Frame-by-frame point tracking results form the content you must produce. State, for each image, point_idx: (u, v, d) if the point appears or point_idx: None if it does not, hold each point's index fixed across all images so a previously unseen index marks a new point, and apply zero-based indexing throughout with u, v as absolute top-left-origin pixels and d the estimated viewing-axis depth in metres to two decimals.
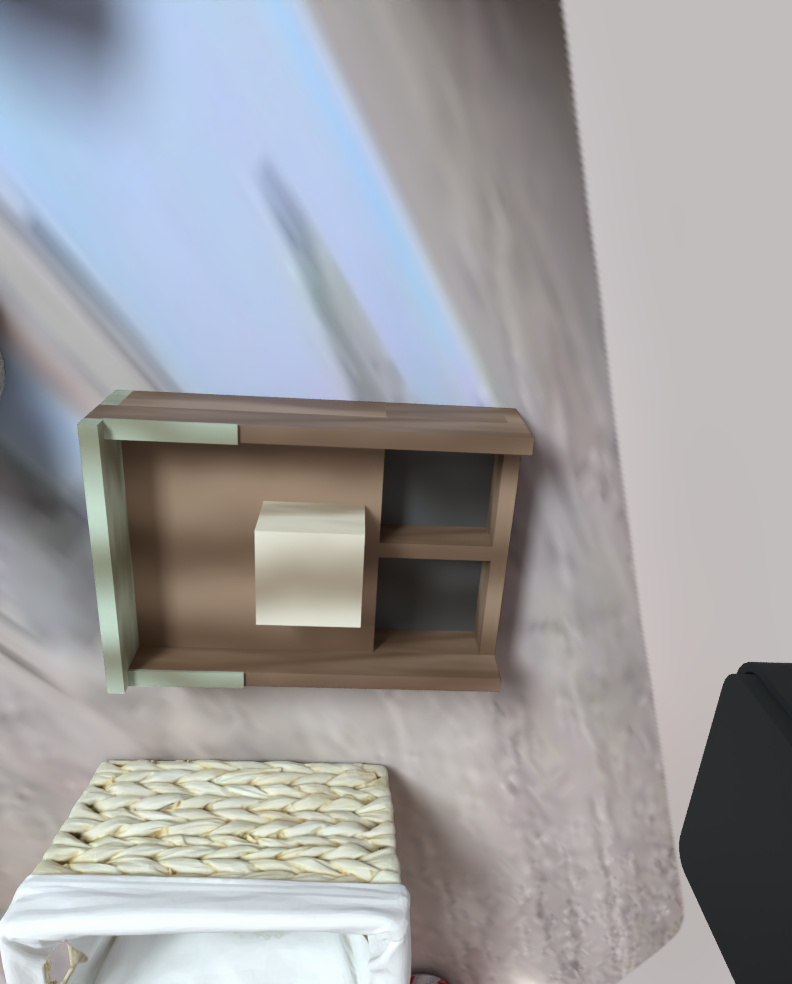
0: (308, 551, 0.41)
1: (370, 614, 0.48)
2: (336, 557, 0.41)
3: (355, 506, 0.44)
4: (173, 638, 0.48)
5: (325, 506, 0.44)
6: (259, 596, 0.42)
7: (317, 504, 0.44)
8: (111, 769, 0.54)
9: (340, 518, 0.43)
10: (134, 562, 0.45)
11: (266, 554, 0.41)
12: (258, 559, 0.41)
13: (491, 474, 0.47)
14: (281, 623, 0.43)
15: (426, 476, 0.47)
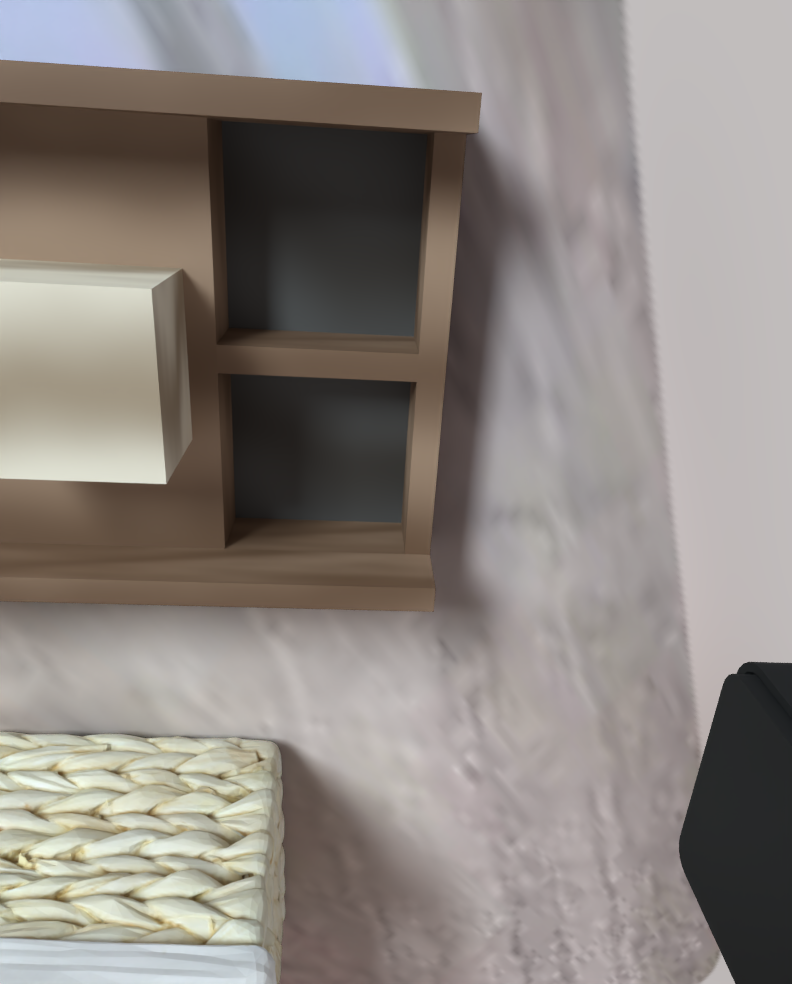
0: (45, 324, 0.21)
1: (214, 480, 0.28)
2: (102, 338, 0.21)
3: (163, 268, 0.24)
4: None
5: (106, 266, 0.24)
6: None
7: (93, 264, 0.24)
8: None
9: (121, 275, 0.23)
10: None
11: None
12: None
13: (418, 234, 0.27)
14: (16, 475, 0.23)
15: (306, 236, 0.27)
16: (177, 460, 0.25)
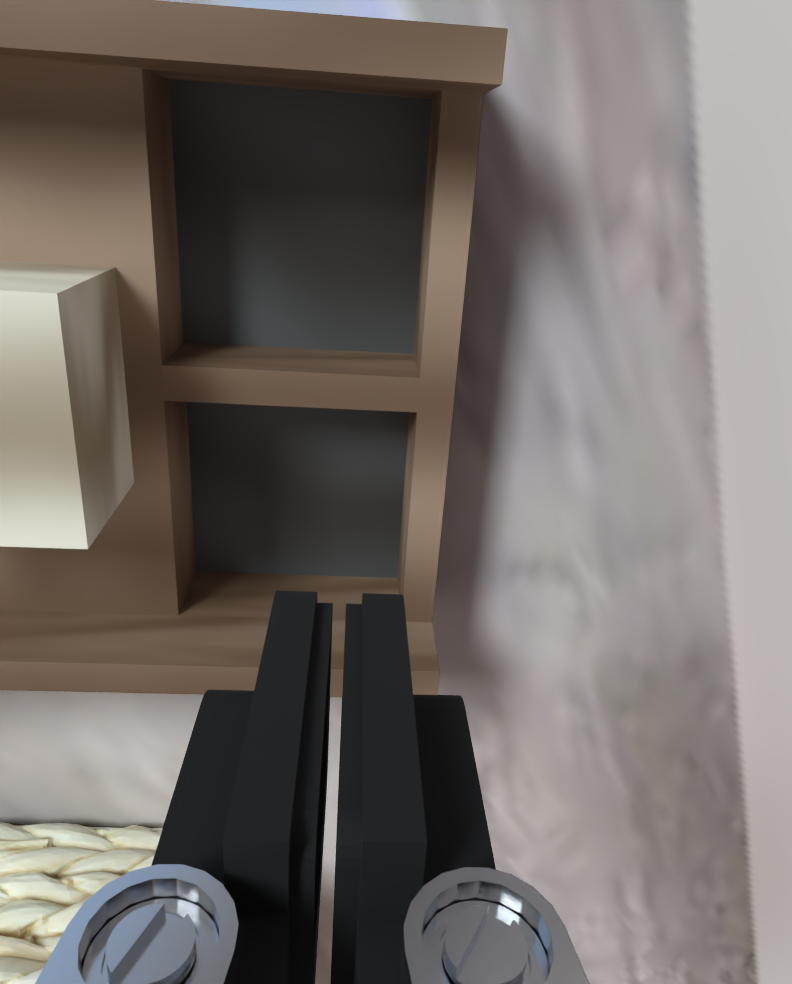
0: None
1: (163, 533, 0.22)
2: None
3: (89, 267, 0.19)
4: None
5: (14, 264, 0.18)
6: None
7: None
8: None
9: (27, 275, 0.17)
10: None
11: None
12: None
13: (420, 226, 0.21)
14: None
15: (278, 228, 0.21)
16: (108, 514, 0.19)
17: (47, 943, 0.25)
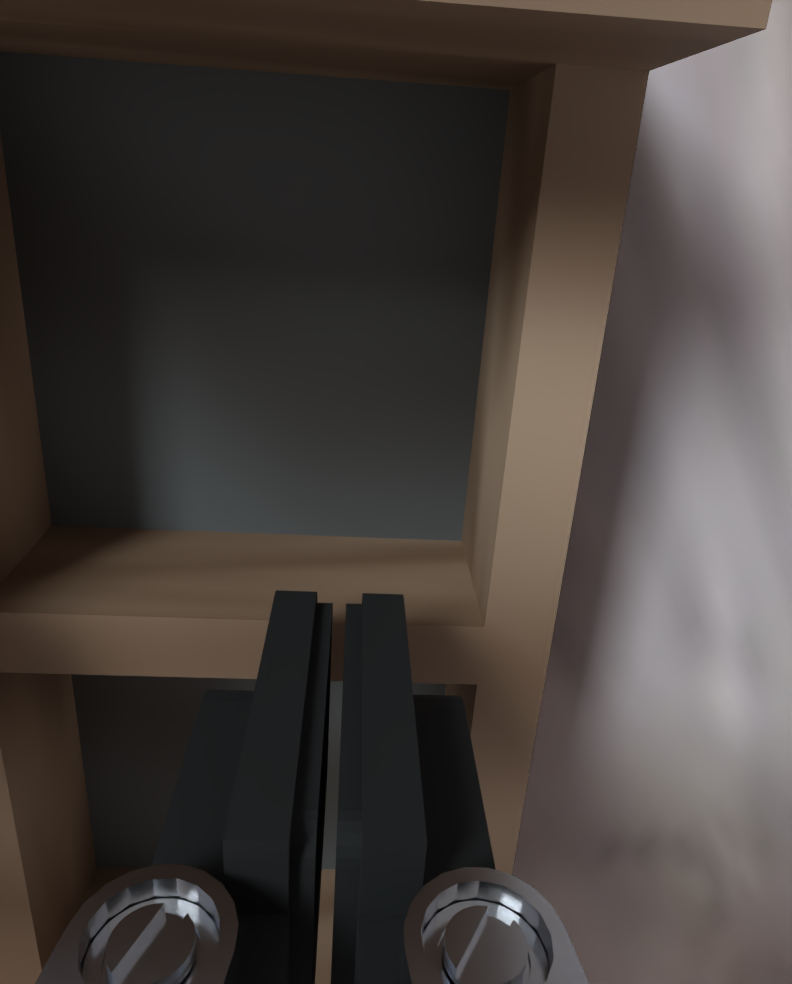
0: None
1: (7, 880, 0.12)
2: None
3: None
4: None
5: None
6: None
7: None
8: None
9: None
10: None
11: None
12: None
13: (480, 327, 0.12)
14: None
15: (216, 332, 0.11)
16: None
17: None
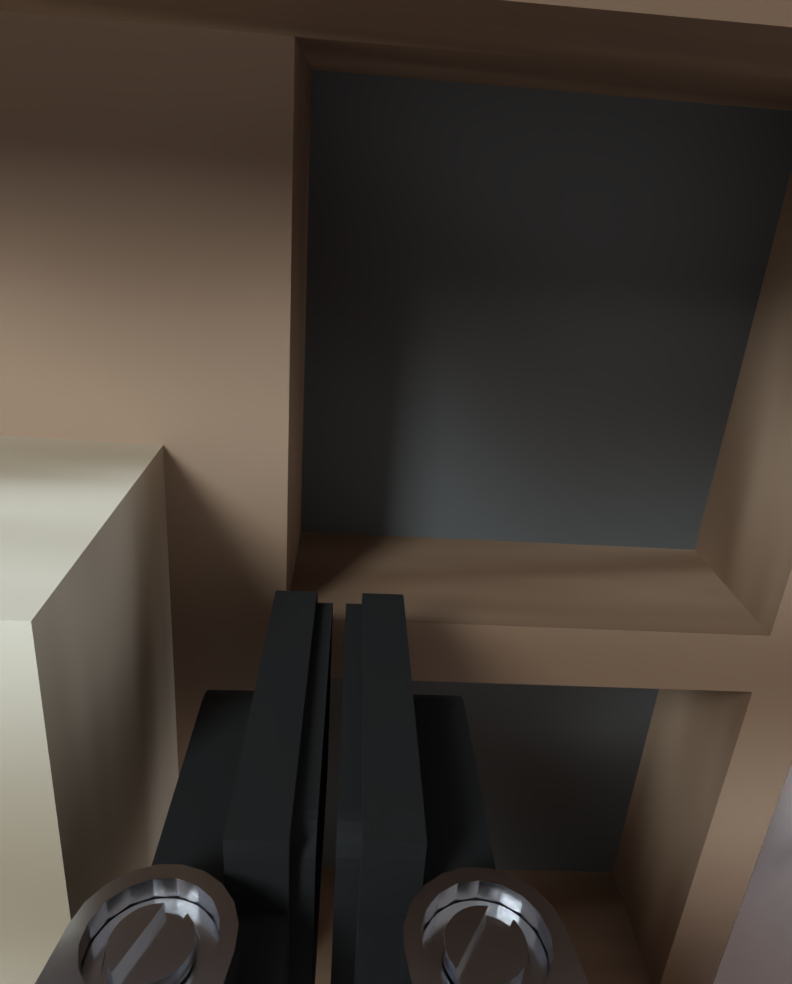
0: None
1: None
2: None
3: (110, 449, 0.09)
4: None
5: None
6: None
7: None
8: None
9: None
10: None
11: None
12: None
13: (743, 341, 0.12)
14: None
15: (488, 344, 0.12)
16: None
17: None
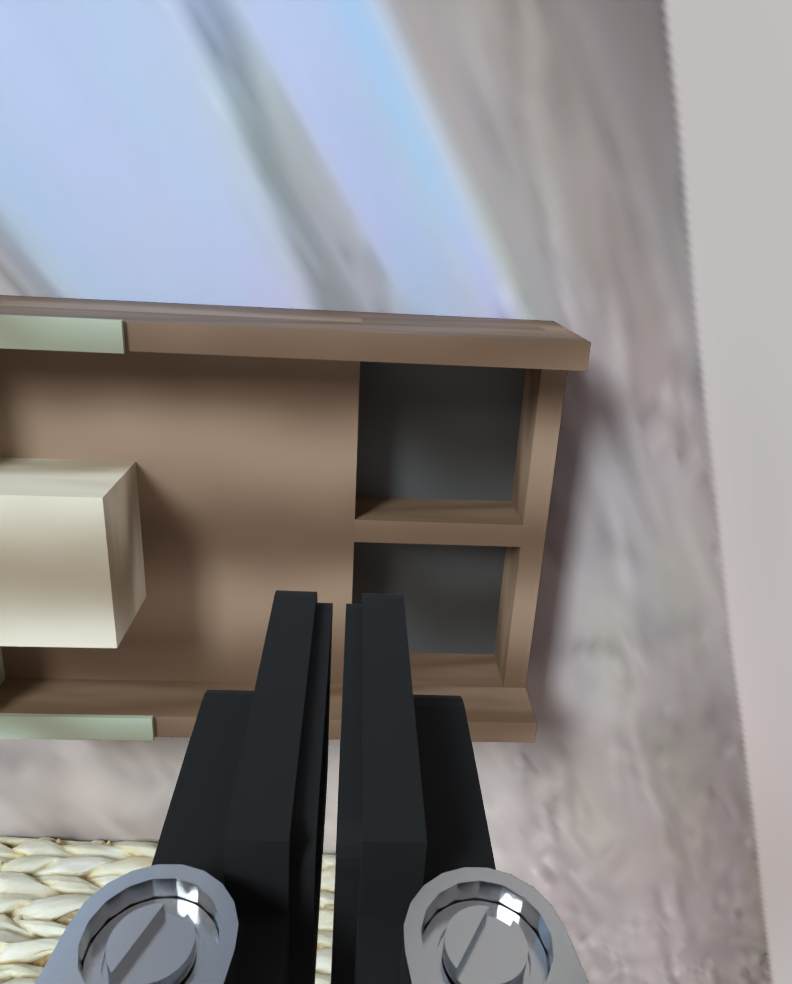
0: (15, 525, 0.26)
1: (344, 628, 0.32)
2: (62, 535, 0.26)
3: (119, 463, 0.29)
4: (55, 667, 0.33)
5: (71, 463, 0.29)
6: None
7: (61, 460, 0.29)
8: None
9: (81, 476, 0.28)
10: None
11: None
12: None
13: (518, 421, 0.32)
14: None
15: (424, 424, 0.32)
16: (129, 622, 0.29)
17: None
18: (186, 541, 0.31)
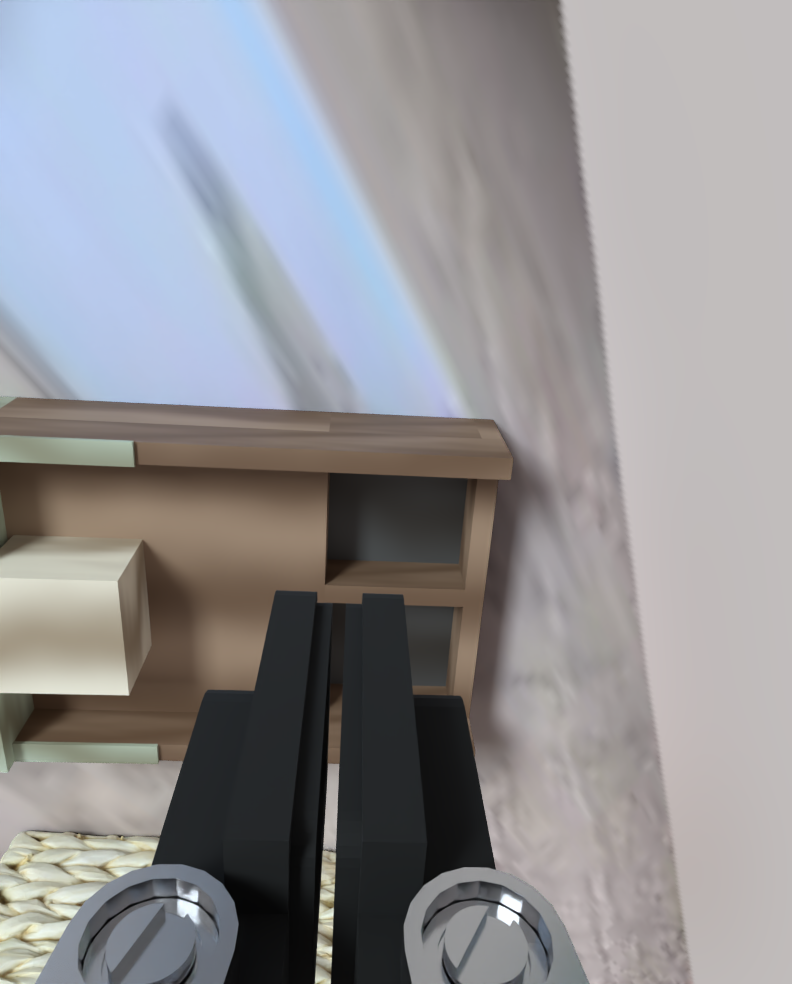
0: (47, 602, 0.32)
1: None
2: (85, 609, 0.32)
3: (129, 541, 0.35)
4: (75, 700, 0.39)
5: (90, 541, 0.35)
6: None
7: (81, 539, 0.35)
8: (28, 844, 0.45)
9: (99, 557, 0.34)
10: None
11: None
12: None
13: (464, 500, 0.38)
14: (26, 691, 0.34)
15: (385, 502, 0.38)
16: (138, 671, 0.36)
17: None
18: (185, 601, 0.37)
